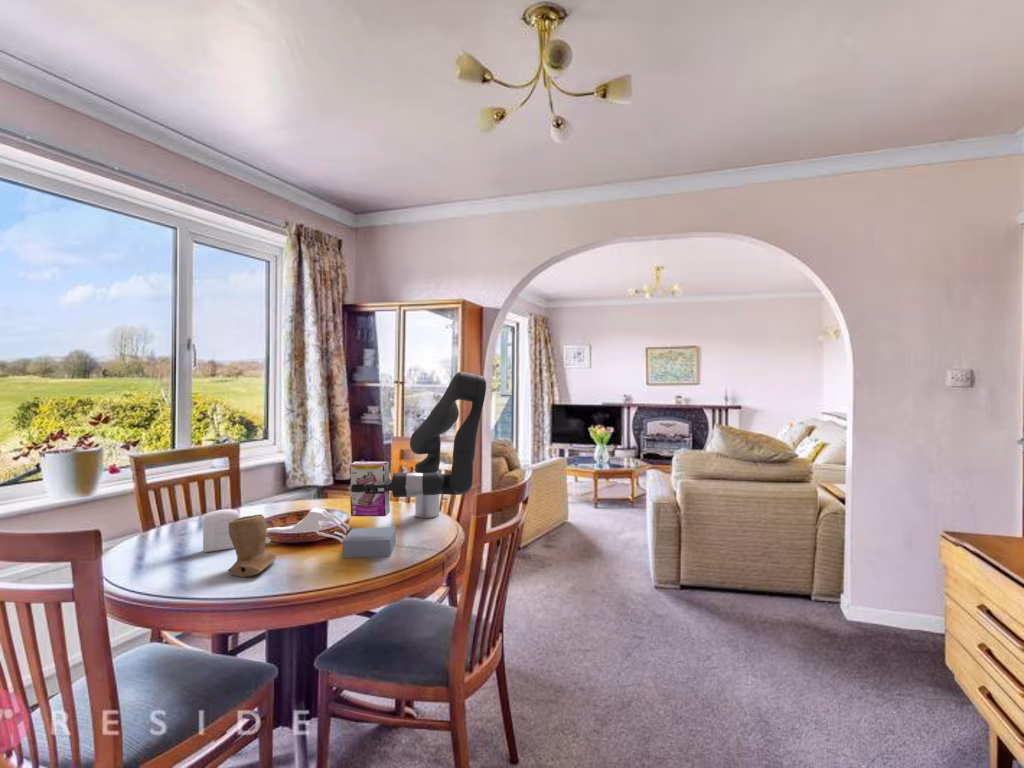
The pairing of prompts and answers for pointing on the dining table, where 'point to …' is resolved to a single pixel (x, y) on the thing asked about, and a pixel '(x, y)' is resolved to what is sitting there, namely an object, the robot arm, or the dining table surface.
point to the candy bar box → (369, 502)
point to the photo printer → (218, 530)
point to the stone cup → (249, 545)
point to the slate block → (369, 542)
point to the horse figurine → (312, 524)
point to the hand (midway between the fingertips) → (353, 486)
